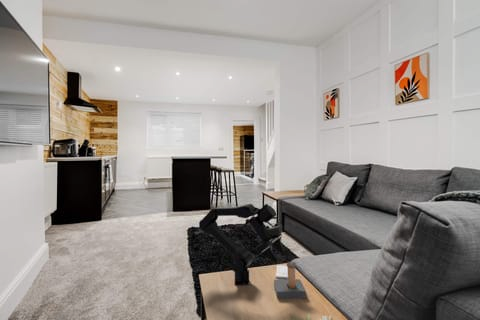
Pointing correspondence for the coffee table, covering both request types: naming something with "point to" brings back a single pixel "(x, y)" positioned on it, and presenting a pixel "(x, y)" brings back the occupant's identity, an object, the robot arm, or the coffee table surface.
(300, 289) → the grey peg base
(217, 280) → the coffee table surface
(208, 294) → the coffee table surface
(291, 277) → the plug
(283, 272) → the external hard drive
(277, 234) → the robot arm
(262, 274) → the coffee table surface
